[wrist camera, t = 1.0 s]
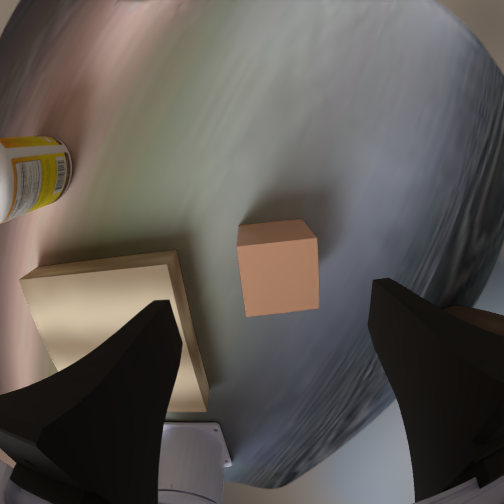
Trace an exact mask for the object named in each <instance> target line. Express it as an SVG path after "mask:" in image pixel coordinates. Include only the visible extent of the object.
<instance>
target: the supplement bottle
mask: <svg viewBox="0 0 504 504" xmlns="http://www.w3.org/2000/svg"><path fill="white" fill-rule="evenodd" d="M71 176H72V161H71V157H70V153H69V151H68V149H67V147H66V146H65V145H64V143H63V142H62V141H60V140H59V139H57V138H55V137H51V136H31V137H10V138H0V224H1V223H4V222H6V221H8V220H10V219H13V218H15V217H18V216H20V215H23V214H25V213H28V212H30V211H33V210H35V209H38V208H40V207H43V206H46V205H48V204H51V203H53V202H55V201H57V200H58V199H60V198H61V197H62V196H63V194H64V193H65V192H66V190H67V188H68V186H69V184H70V180H71Z"/></svg>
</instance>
